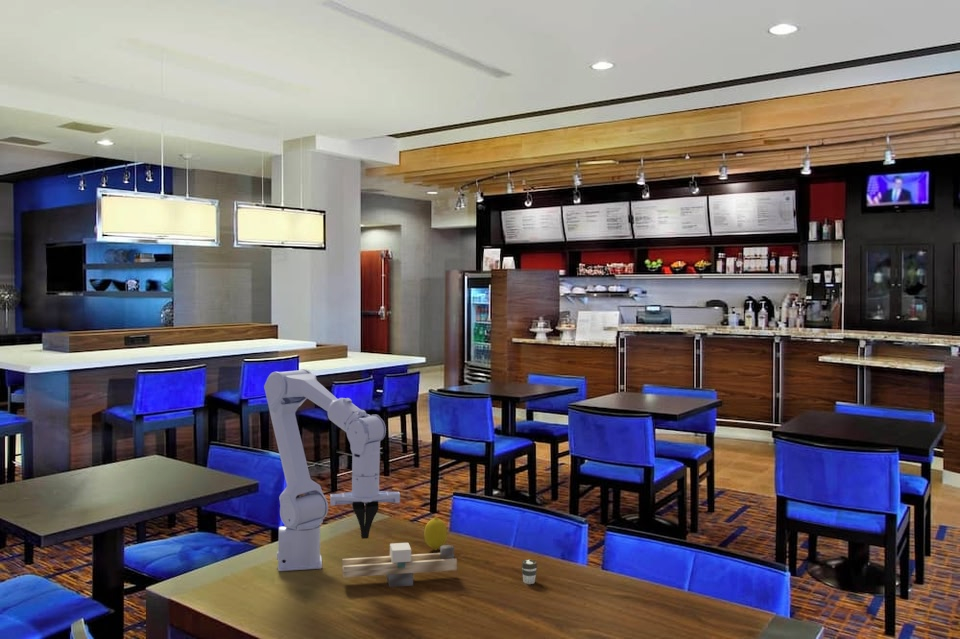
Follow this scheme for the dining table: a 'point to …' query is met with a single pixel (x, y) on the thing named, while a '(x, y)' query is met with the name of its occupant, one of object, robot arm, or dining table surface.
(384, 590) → the dining table surface
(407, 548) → the rider
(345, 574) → the beam
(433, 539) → the lemon
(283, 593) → the dining table surface
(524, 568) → the coffee cup
